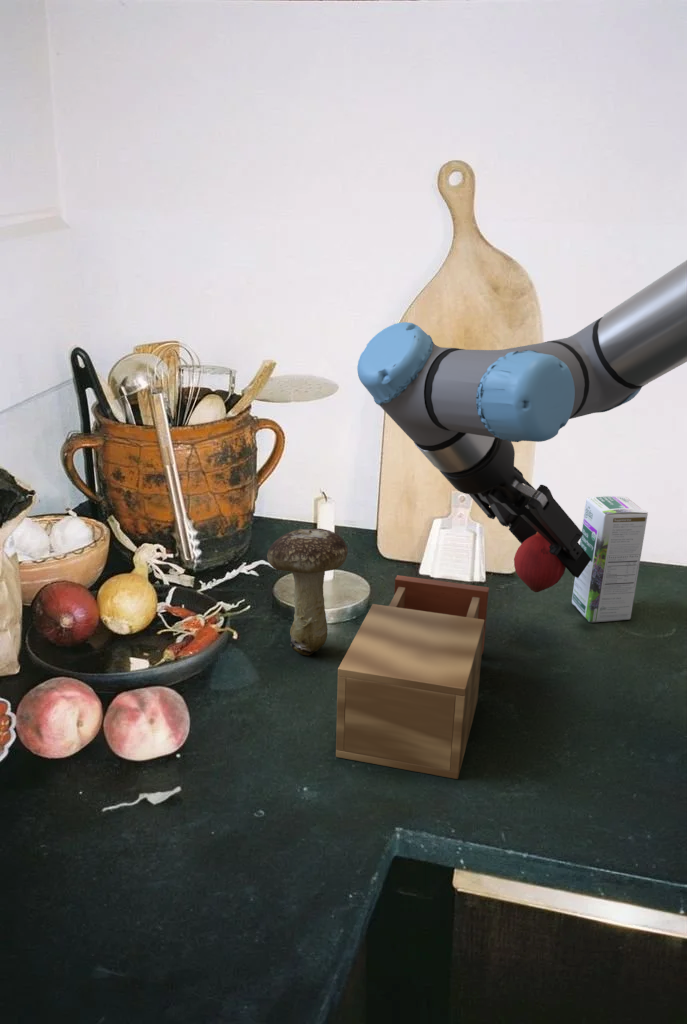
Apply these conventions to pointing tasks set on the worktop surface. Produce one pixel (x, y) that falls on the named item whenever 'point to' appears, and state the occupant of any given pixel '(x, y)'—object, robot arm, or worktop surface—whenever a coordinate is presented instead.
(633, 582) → the syrup box
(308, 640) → the mushroom
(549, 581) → the onion
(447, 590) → the drawer
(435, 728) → the cabinet
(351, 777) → the worktop surface
